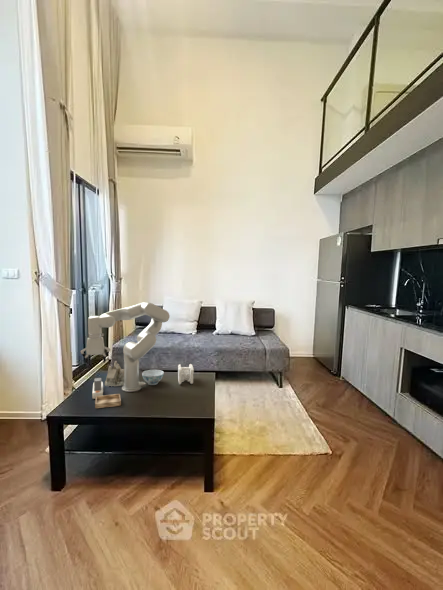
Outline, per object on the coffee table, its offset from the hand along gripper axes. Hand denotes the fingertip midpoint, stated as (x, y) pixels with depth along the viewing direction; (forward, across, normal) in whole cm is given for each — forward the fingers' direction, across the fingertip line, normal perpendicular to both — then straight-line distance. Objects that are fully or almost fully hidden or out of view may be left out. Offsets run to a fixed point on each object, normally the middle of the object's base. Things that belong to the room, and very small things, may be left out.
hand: (95, 363), depth 196 cm
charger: (+20, -1, -2) cm, 20 cm away
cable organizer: (+23, -59, -11) cm, 65 cm away
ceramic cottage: (+22, -13, -20) cm, 33 cm away
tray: (+21, -7, +13) cm, 26 cm away
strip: (+21, 0, -6) cm, 22 cm away
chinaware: (+22, -36, -13) cm, 45 cm away
